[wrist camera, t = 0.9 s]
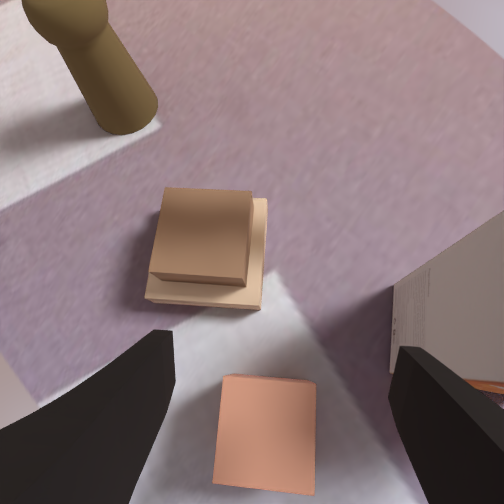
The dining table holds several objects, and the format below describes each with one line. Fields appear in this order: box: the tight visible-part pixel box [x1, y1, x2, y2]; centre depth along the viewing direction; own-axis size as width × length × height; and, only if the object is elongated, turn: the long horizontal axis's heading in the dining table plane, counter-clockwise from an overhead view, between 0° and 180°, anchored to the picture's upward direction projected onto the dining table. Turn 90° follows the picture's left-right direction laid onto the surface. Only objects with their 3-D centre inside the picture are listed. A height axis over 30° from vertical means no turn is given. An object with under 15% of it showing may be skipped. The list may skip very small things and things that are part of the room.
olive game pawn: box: [22, 0, 158, 135], centre depth 26 cm, size 6×6×11 cm
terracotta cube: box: [212, 374, 316, 496], centre depth 19 cm, size 5×5×5 cm
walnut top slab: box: [148, 187, 254, 287], centre depth 22 cm, size 6×6×2 cm
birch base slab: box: [144, 198, 268, 310], centre depth 25 cm, size 8×8×2 cm
